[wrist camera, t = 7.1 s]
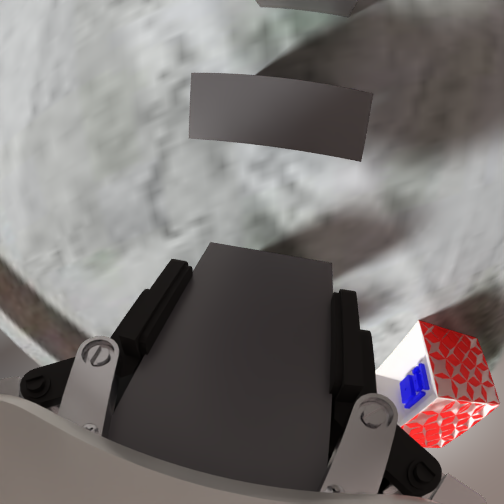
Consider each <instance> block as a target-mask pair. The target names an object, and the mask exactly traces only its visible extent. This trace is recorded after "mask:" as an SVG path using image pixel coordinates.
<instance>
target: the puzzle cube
mask: <svg viewBox="0 0 504 504" xmlns="http://www.w3.org/2000/svg"><path fill="white" fill-rule="evenodd" d="M375 374H376V386H377V394H381V395H383V396H386V397H388V398H389V399H390V400H391V401H392V402H393V403H394V405H395V406H396V408H397V412H398V421H397V424H398V425H399V426H400V427H401V428H402V429H403V430H404V431H405V432H406V433H407V434H409V435H410V436H411V437H412V438H413V439H414V440H415V441H416V442H417V443H419V444H420V445H421V446H422V447H427V448H441V447H443V446H444V445H446V444H447V443H449V442H450V441H452V440H454V439H455V438H457V437H458V436H460V435H461V434H462V433H464V432H465V431H467V430H468V429H469V428H470V427H472V426H473V425H475V424H476V423H477V422H479V421H480V420H481V419H483V418H484V417H485V416H487V415H488V414H489V413H490V412H492V411H493V410H494V409H495V408H496V407H498V406H499V405H500V403H499V399H498V396H497V393H496V389H495V386H494V383H493V380H492V377H491V374H490V371H489V369H488V365H487V363H486V360H485V357H484V354H483V352H482V349H481V347H480V344H479V342H478V339H477V338H475V337H472V336H469V335H465V334H462V333H458V332H455V331H452V330H449V329H445V328H442V327H439V326H436V325H433V324H430V323H426V322H423V321H420V320H418V322H417V323H416V324H415V326H414V327H413V328H412V329H411V331H410V332H409V333H408V334H407V336H406V337H405V338H404V339H403V340H402V342H401V343H400V344H399V345H398V346H397V347H396V349H395V350H394V351H393V352H392V353H391V354H390V356H389V357H388V358H387V359H386V360H385V361H384V362H383V363H382V365H381V366H380V367H379V368H378V369H377V370H376V371H375Z"/></svg>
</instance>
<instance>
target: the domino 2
mask: <svg viewBox="0 0 504 504" xmlns="http://www.w3.org/2000/svg"><path fill="white" fill-rule="evenodd" d="M332 296H333V283H332V263H328V262H323V261H317V260H311V259H305V258H299V257H294V256H288V255H282V254H276V253H270V252H265V251H259V250H253V249H247V248H241V247H235V246H230V245H224V244H218V243H212V242H210V244H209V246H208V247H207V249H206V251H205V252H204V254H203V255H202V257H201V259H200V260H199V262H198V264H197V265H196V267H195V269H194V270H193V276H192V278H191V279H190V281H189V283H188V285H187V286H186V288H185V290H184V291H183V293H182V295H181V297H180V298H179V300H178V302H177V304H176V305H175V307H174V309H173V311H172V312H171V314H170V316H169V318H168V319H167V321H166V323H165V325H164V327H163V328H162V330H161V332H160V334H159V336H158V337H157V339H156V341H155V343H154V345H153V346H152V348H151V350H150V352H149V354H148V355H146V354H145V355H144V357H143V359H142V361H141V363H140V365H139V366H138V368H137V370H136V372H135V374H134V375H133V377H132V379H131V381H130V383H129V385H128V387H127V388H126V390H125V392H124V394H123V396H122V398H121V400H120V402H119V403H118V405H117V407H116V409H115V411H114V413H113V415H112V418H111V423H110V429H109V430H108V432H109V435H108V439H109V440H111V441H113V442H116V443H118V444H121V445H123V446H125V447H128V448H130V449H133V450H136V451H138V452H141V453H144V454H146V455H149V456H152V457H155V458H158V459H160V460H163V461H166V462H169V463H173V464H176V465H179V466H182V467H186V468H189V469H193V470H196V471H200V472H204V473H207V474H211V475H215V476H220V477H224V478H228V479H233V480H238V481H243V482H248V483H253V484H259V485H265V486H271V487H278V488H285V489H294V490H303V491H314V492H317V489H318V487H319V486H320V484H321V481H322V479H323V476H324V474H325V472H326V469H327V464H328V452H329V440H330V425H331V406H332V394H329V388H330V359H331V299H332Z"/></svg>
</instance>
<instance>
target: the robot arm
mask: <svg viewBox="0 0 504 504" xmlns="http://www.w3.org/2000/svg"><path fill="white" fill-rule="evenodd" d="M192 276H193V270H192V267H191V266H188V262H186V261H181V260H176V259H171V260H170V262H169V263H168V265H167V266H166V267H165V269H164V270H163V271H162V273H161V274H160V276H159V277H158V278H157V280H156V281H155V283H154V284H153V285H152V287H151V288H150V289H145V290H144V291H143V292H142V293H141V295H140V296H139V297H138V299H137V300H136V302H135V303H134V304H133V306H132V307H131V309H130V310H129V311H128V313H127V314H126V316H125V317H124V319H123V320H122V322H121V323H120V324H119V326H118V327H117V329H116V330H115V332H114V333H113V335H112V336H111V338H109V337H105V336H96V337H92V338H89V339H88V340H86V341H85V342H83V343H82V344H81V346H80V347H79V349H78V351H77V354H76V357H73V358H70V359H67V360H63V361H60V362H56V363H53V364H50V365H46V366H43V367H39V368H36V369H33V370H31V371H29V372H28V373H26V374H25V375H24V377H23V378H22V379H20V377H19V376H17V377H11V378H4V379H0V504H487V503H486V500H485V498H484V497H483V496H482V495H480V494H479V493H477V492H476V491H474V490H473V489H471V488H470V487H468V486H467V485H465V484H464V483H462V482H461V481H459V480H458V479H456V478H455V477H453V476H452V475H450V474H449V473H448V474H446V475H445V474H443V473H442V470H441V467H440V464H439V463H438V461H437V460H436V459H435V458H434V457H433V456H432V455H431V454H430V453H429V452H427V451H426V450H425V449H424V448H423V447H422V446H421V445H420V444H419V443H417V442H416V441H415V440H414V439H413V438H412V437H411V436H410V435H409V434H407V433H406V432H405V431H404V430H403V429H402V428H401V427H400V426H399V425H398V424H397V421H398V412H397V408H396V406H395V405H394V403H393V402H392V401H391V400H390V399H389V398H388V397H386V396H383V395H381V394H377V386H376V374H375V363H374V353H373V344H372V336H371V332H370V331H367V330H360V324H359V314H358V304H357V296H356V292H355V291H349V290H343V289H340V291H339V293H336V292H334V293H333V296H332V299H331V359H330V388H329V394H332V406H331V425H330V440H329V452H328V464H327V469H326V472H325V474H324V476H323V479H322V481H321V484H320V486H319V487H318V489H317V492H314V491H303V490H294V489H285V488H278V487H271V486H265V485H259V484H253V483H248V482H243V481H238V480H233V479H228V478H224V477H220V476H215V475H211V474H207V473H204V472H200V471H196V470H193V469H189V468H186V467H182V466H179V465H176V464H173V463H169V462H166V461H163V460H160V459H158V458H155V457H152V456H149V455H146V454H144V453H141V452H138V451H136V450H133V449H130V448H128V447H125V446H123V445H121V444H118V443H116V442H113V441H111V440H109V439H108V435H109V432H108V430H109V429H110V423H111V418H112V415H113V413H114V411H115V409H116V407H117V405H118V403H119V402H120V400H121V398H122V396H123V394H124V392H125V390H126V388H127V387H128V385H129V383H130V381H131V379H132V377H133V375H134V374H135V372H136V370H137V368H138V366H139V365H140V363H141V361H142V359H143V357H144V355H145V354H146V355H148V354H149V352H150V350H151V348H152V346H153V345H154V343H155V341H156V339H157V337H158V336H159V334H160V332H161V330H162V328H163V327H164V325H165V323H166V321H167V319H168V318H169V316H170V314H171V312H172V311H173V309H174V307H175V305H176V304H177V302H178V300H179V298H180V297H181V295H182V293H183V291H184V290H185V288H186V286H187V285H188V283H189V281H190V279H191V278H192Z"/></svg>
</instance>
